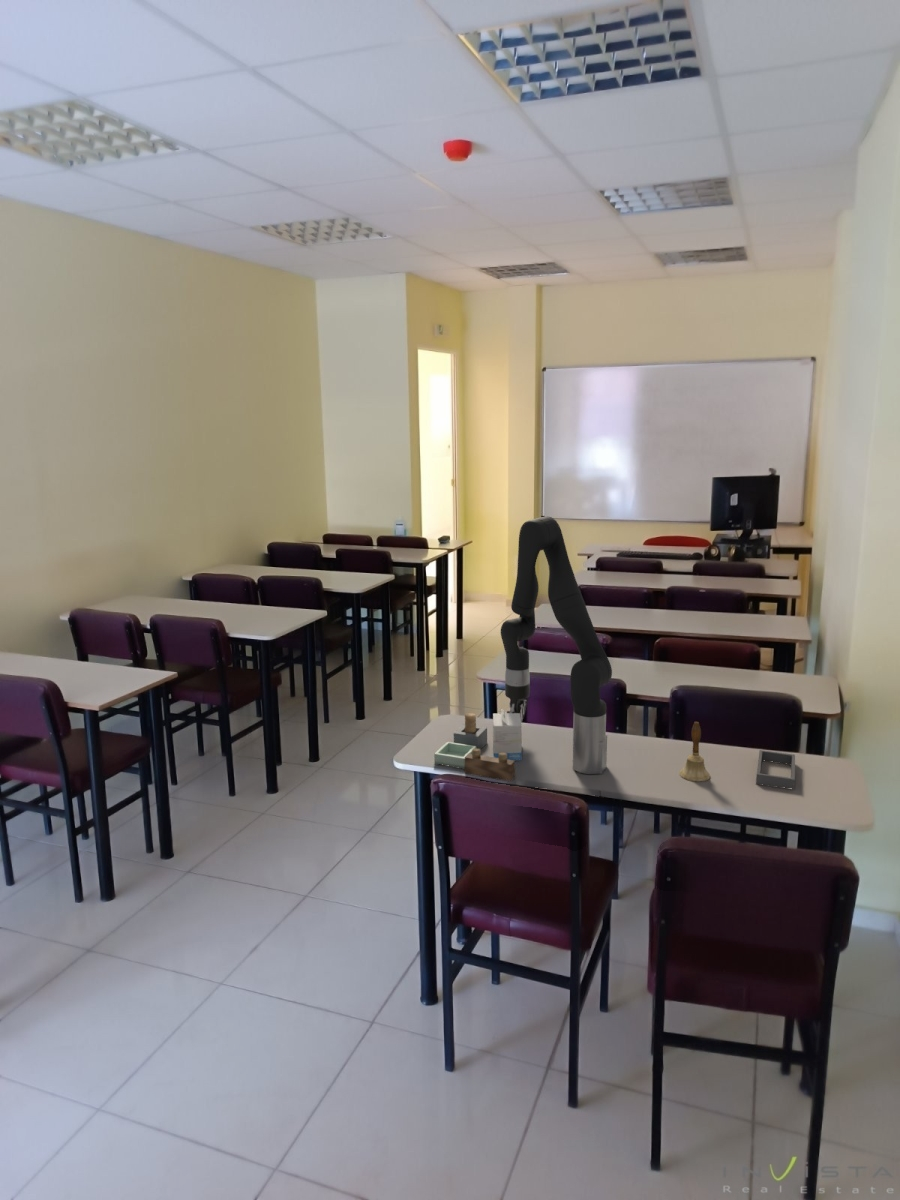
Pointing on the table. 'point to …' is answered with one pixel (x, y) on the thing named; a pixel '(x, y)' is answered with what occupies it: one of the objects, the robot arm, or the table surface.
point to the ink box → (507, 735)
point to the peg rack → (490, 766)
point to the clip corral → (772, 779)
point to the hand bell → (695, 760)
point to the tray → (453, 754)
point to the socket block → (471, 737)
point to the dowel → (470, 723)
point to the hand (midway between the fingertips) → (517, 733)
